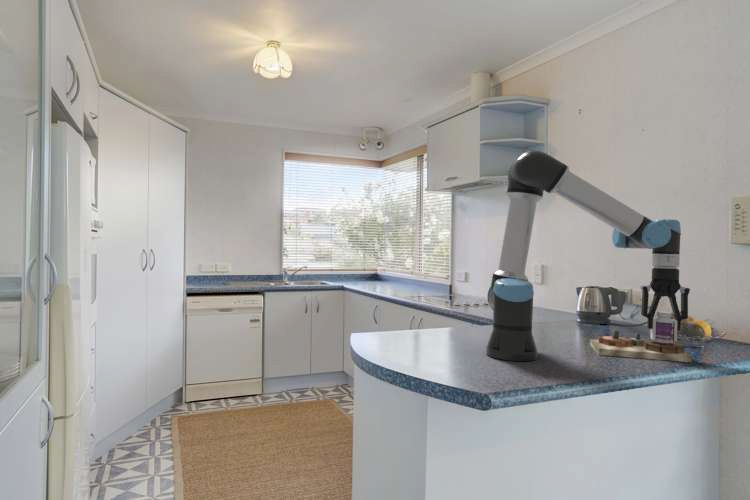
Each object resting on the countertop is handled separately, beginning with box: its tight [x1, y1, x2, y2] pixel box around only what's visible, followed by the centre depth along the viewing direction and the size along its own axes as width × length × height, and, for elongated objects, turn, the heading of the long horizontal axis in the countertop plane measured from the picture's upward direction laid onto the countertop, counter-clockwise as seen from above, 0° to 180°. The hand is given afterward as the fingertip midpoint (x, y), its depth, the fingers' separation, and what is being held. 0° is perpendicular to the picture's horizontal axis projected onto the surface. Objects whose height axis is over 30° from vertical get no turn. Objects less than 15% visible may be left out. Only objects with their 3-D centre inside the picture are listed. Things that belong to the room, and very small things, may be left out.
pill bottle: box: [654, 311, 674, 344], centre depth 151 cm, size 5×5×10 cm
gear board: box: [589, 329, 693, 363], centre depth 155 cm, size 26×17×6 cm, turn 74°
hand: (663, 339), depth 151 cm, fingers closed on pill bottle, 5 cm apart
